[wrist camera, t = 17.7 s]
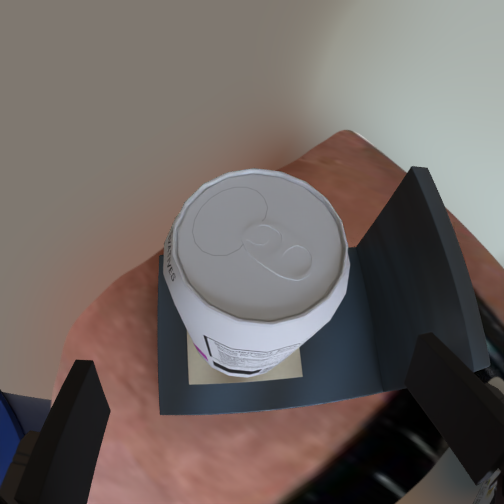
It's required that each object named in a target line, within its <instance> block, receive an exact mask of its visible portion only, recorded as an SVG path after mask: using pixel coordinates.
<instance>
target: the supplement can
mask: <svg viewBox="0 0 504 504" xmlns="http://www.w3.org/2000/svg"><path fill="white" fill-rule="evenodd" d="M349 269H350V261H349V257H348V243H347V239H346V235H345V231H344V227H343V223H342V220H341V219H340V217H339V216H338V214H337V213H336V211H335V210H334V208H333V207H332V205H331V204H330V202H329V201H328V199H327V198H325V197H324V196H323V195H322V194H321V193H319V192H318V191H317V190H316V189H314V188H313V187H312V186H311V185H309V184H308V183H307V182H305V181H303V180H300V179H298V178H295V177H293V176H291V175H288V174H286V173H283V172H280V171H273V170H264V169H256V168H252V169H246V170H239V171H233V172H227V173H225V174H223V175H221V176H219V177H217V178H215V179H213V180H211V181H208V182H206V183H204V184H203V185H202V186H201V187H200V188H199V189H198V190H197V191H196V192H195V193H193V194H192V196H191V197H189V199H187V200H186V201H185V202H184V204H183V207H182V209H181V211H180V213H179V214H178V215H177V216H176V218H175V220H174V223H173V225H172V227H171V229H170V231H169V234H168V236H167V238H166V241H165V243H164V264H163V274H164V277H165V280H166V283H167V285H168V288H169V291H170V293H171V296H172V299H173V301H174V304H175V306H176V308H177V310H178V312H179V314H180V316H181V319H182V321H183V323H184V325H185V327H186V329H187V331H188V333H189V335H190V337H191V339H192V341H193V343H194V345H195V347H196V349H197V351H198V353H199V354H200V356H201V357H202V358H203V359H204V360H205V361H206V362H207V363H208V364H209V365H210V366H211V367H212V368H214V369H216V370H218V371H220V372H222V373H224V374H226V375H228V376H236V377H246V378H248V377H252V376H256V375H260V374H264V373H267V372H268V371H269V370H271V369H272V368H274V367H275V366H277V365H278V364H279V363H281V362H282V361H283V360H285V359H286V358H287V357H288V356H289V355H291V354H292V353H293V352H294V351H295V350H297V349H298V348H299V347H300V346H301V345H302V344H304V343H305V342H306V341H307V340H308V339H309V338H311V337H312V336H313V335H314V334H315V333H316V332H317V331H319V330H320V329H321V328H322V327H323V326H324V325H325V324H327V323H328V322H329V321H330V320H331V318H332V316H333V315H334V313H335V311H336V310H337V308H338V306H339V305H340V303H341V301H342V299H343V298H344V296H345V294H346V290H347V283H348V277H349Z"/></svg>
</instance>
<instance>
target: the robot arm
mask: <svg viewBox="0 0 504 504" xmlns="http://www.w3.org/2000/svg"><path fill="white" fill-rule="evenodd" d="M404 385H405V386H406V387H407V389H408V390H409V391H410V393H411V394H412V395H413V397H414V398H415V399H416V401H417V402H418V403H419V405H420V406H421V408H422V409H423V410H424V412H425V413H426V414H427V416H428V417H429V419H430V420H431V421H432V423H433V424H434V426H435V427H436V428H437V430H438V431H439V433H440V434H441V435H442V437H443V438H444V440H445V441H446V442H447V444H448V445H449V447H450V448H451V449H452V451H453V452H454V454H455V455H456V457H457V458H458V459H459V461H460V462H461V464H462V465H463V467H464V468H465V470H466V471H467V473H468V474H469V475H470V477H471V479H472V480H473V481H474V483H475V485H479V484H480V483H482V482H484V481H485V480H487V479H489V478H490V477H491V476H492V475H493V474H494V472H495V471H496V470H497V468H499V469H500V471H501V472H500V474H499V475H498V476H497V477H496V478H495V480H494V481H493V482H492V483H491V484H490V486H489V489H488V490H491V489H492V488H493V486H494V485H495V484H496V483H497V486H496V487H495V489H494V490H496V497H495V504H504V395H503V394H502V393H501V391H499V389H498V388H496V387H494V386H492V385H490V384H489V383H486V384H484V383H483V382H482V381H481V380H480V379H479V378H478V377H477V376H476V375H475V374H474V373H473V372H472V371H471V370H470V369H469V368H468V367H467V366H466V365H465V364H464V363H463V362H462V361H461V360H460V359H459V358H458V357H457V356H456V355H455V354H454V353H453V352H452V351H451V350H450V349H449V348H448V347H447V346H446V345H445V344H444V343H443V342H442V341H441V340H440V339H439V338H438V337H437V336H435V335H434V334H433V333H432V332H429V333H424V334H419V335H418V337H417V341H416V345H415V348H414V352H413V356H412V359H411V362H410V366H409V369H408V372H407V375H406V378H405V382H404ZM109 415H110V408H109V405H108V403H107V400H106V397H105V395H104V392H103V389H102V386H101V383H100V380H99V377H98V374H97V371H96V368H95V365H94V362H93V361H92V360H75V362H74V364H73V366H72V368H71V370H70V372H69V374H68V376H67V378H66V379H65V381H64V383H63V385H62V387H61V389H60V391H59V394H58V396H57V398H56V400H55V402H54V404H53V406H52V408H51V410H50V412H49V414H48V417H47V419H46V421H45V423H44V425H43V427H42V430H41V432H35V431H29V432H28V433H27V434H26V435H25V436H24V437H23V438H22V439H21V441H20V443H19V445H18V447H17V449H16V454H14V456H13V458H12V463H10V465H9V467H8V470H7V472H6V474H5V477H4V479H3V482H2V484H1V487H0V504H87V501H88V496H89V492H90V487H91V483H92V479H93V474H94V470H95V466H96V462H97V458H98V455H99V451H100V447H101V443H102V440H103V436H104V432H105V429H106V425H107V422H108V418H109Z"/></svg>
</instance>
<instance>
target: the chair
mask: <svg viewBox="0 0 504 504" xmlns="http://www.w3.org/2000/svg"><path fill="white" fill-rule="evenodd" d="M348 257H349V261H350V269H349V277H348V283H347V290H346V294H345V296H344V298H343V299H342V301H341V303H340V305H339V306H338V308H337V310H336V311H335V313H334V315H333V316H332V318H331V320H330V321H329V322H328V323H327V324H325V325H324V326H323V327H322V328H321V329H320V330H319V331H317V332H316V333H315V334H314V335H313V336H312V337H311V338H309V339H308V340H307V341H306V342H305V343H304V344H302V345H301V346H300V347H299V348H298V349H297V350H295V351H294V352H293V353H292V354H291V355H289V356H288V357H287V358H286V359H285V360H283V361H282V362H281V363H279V364H278V365H277V366H275V367H274V368H272V369H271V370H269V371H268V372H267V373H264V374H260V375H256V376H252V377H248V378H246V377H236V376H228V375H226V374H224V373H222V372H220V371H218V370H216V369H214V368H212V367H211V366H210V365H209V364H208V363H207V362H206V361H205V360H204V359H203V358H202V357H201V356H200V354H199V353H198V351H197V349H196V347H195V345H194V343H193V341H192V339H191V337H190V335H189V333H188V331H187V329H186V327H185V325H184V323H183V321H182V319H181V316H180V314H179V312H178V310H177V308H176V306H175V304H174V301H173V299H172V296H171V293H170V291H169V288H168V285H167V283H166V280H165V277H164V274H163V264H164V255H160V256H159V275H158V384H159V406H160V415H213V414H233V413H248V412H260V411H271V410H280V409H289V408H297V407H305V406H312V405H318V404H325V403H331V402H337V401H343V400H348V399H353V398H359V397H364V396H368V395H373V394H378V393H382V392H388V391H393V390H399V389H404V388H407V387H406V386H405V385H404V382H405V378H406V375H407V372H408V369H409V366H410V362H411V359H412V356H413V352H414V348H415V345H416V341H417V337H418V335H419V334H424V333H429V332H432V333H433V334H434V335H435V336H437V337H438V338H439V339H440V340H441V341H442V342H443V343H444V344H445V345H446V346H447V347H448V348H449V349H450V350H451V351H452V352H453V353H454V354H455V355H456V356H457V357H458V358H459V359H460V360H461V361H462V362H463V363H464V364H465V365H466V366H467V367H468V368H469V369H470V370H471V371H472V372H475V371H478V370H481V369H483V368H486V367H489V366H490V361H489V355H488V350H487V345H486V340H485V335H484V330H483V326H482V321H481V317H480V313H479V309H478V305H477V301H476V298H475V294H474V290H473V287H472V283H471V280H470V277H469V273H468V270H467V267H466V264H465V261H464V258H463V255H462V252H461V249H460V246H459V243H458V240H457V237H456V235H455V232H454V229H453V227H452V224H451V221H450V219H449V216H448V214H447V211H446V209H445V206H444V204H443V201H442V199H441V197H440V195H439V192H438V190H437V188H436V185H435V183H434V181H433V179H432V177H431V174H430V172H429V170H428V168H424V167H415V166H412V167H411V168H410V170H409V171H408V173H407V174H406V176H405V177H404V179H403V180H402V182H401V183H400V185H399V186H398V188H397V189H396V191H395V192H394V194H393V195H392V197H391V198H390V200H389V201H388V203H387V204H386V206H385V207H384V208H383V210H382V211H381V213H380V214H379V216H378V217H377V219H376V220H375V221H374V223H373V224H372V226H371V227H370V228H369V230H368V231H367V233H366V234H365V235H364V237H363V238H362V240H361V241H360V242H359V244H358V245H357V247H351V248H348Z"/></svg>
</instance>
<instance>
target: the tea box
mask: <svg viewBox="0 0 504 504" xmlns="http://www.w3.org/2000/svg"><path fill="white" fill-rule="evenodd" d="M500 472H501V471H495V472H494V474H493V475H492V476H491V477H490V478H489V479H487V480H485V481H484V482H483V484H482V486H481V489H480V491H479V493H478V495H477V496H476V498H475V501H474V502H473V504H495V497H496V490H494V489H495V487H496V486H497V483H496V484H495V485H494V486H493V488H492V489H491V490H488V489H489V486H490V484H491V483H492V482H493V481H494V480H495V478H496V477H497V476H498V475H499V474H500Z"/></svg>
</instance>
